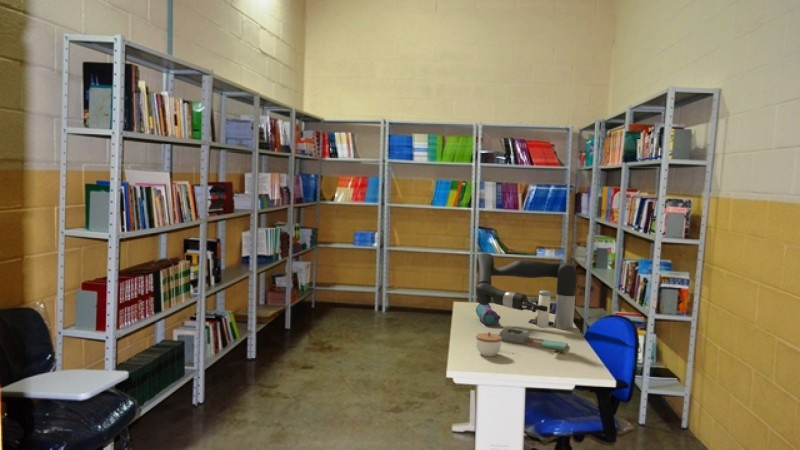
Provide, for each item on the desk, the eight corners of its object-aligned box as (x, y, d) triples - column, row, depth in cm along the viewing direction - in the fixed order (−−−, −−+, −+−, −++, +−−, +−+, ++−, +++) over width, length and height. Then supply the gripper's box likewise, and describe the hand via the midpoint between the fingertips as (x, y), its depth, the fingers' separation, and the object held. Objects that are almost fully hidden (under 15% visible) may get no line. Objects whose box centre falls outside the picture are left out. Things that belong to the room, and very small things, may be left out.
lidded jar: (506, 356, 239) (507, 334, 239) (485, 359, 234) (487, 337, 233) (489, 349, 249) (491, 328, 248) (470, 352, 243) (471, 330, 243)
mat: (544, 340, 262) (544, 340, 262) (567, 344, 258) (567, 343, 258) (540, 346, 253) (540, 345, 253) (563, 349, 249) (563, 349, 249)
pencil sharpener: (566, 327, 295) (568, 303, 294) (533, 326, 293) (534, 302, 292) (556, 320, 309) (557, 297, 308) (524, 319, 307) (525, 296, 306)
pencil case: (499, 328, 286) (500, 310, 285) (482, 328, 285) (483, 309, 284) (490, 318, 306) (492, 301, 306) (474, 318, 306) (475, 300, 305)
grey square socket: (505, 334, 270) (505, 326, 270) (528, 338, 266) (529, 330, 265) (499, 339, 260) (499, 331, 260) (523, 343, 256) (524, 335, 255)
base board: (503, 335, 272) (503, 333, 272) (567, 345, 260) (567, 343, 260) (495, 342, 260) (495, 340, 259) (562, 353, 247) (562, 351, 247)
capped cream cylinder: (537, 323, 261) (540, 289, 259) (549, 325, 259) (551, 291, 257) (535, 326, 256) (538, 292, 254) (547, 328, 254) (550, 293, 252)
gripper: (521, 305, 271) (555, 312, 261) (507, 311, 260) (542, 319, 250) (522, 290, 270) (556, 296, 260) (508, 295, 259) (543, 302, 249)
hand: (549, 308), depth 255 cm, fingers closed on capped cream cylinder, 5 cm apart
